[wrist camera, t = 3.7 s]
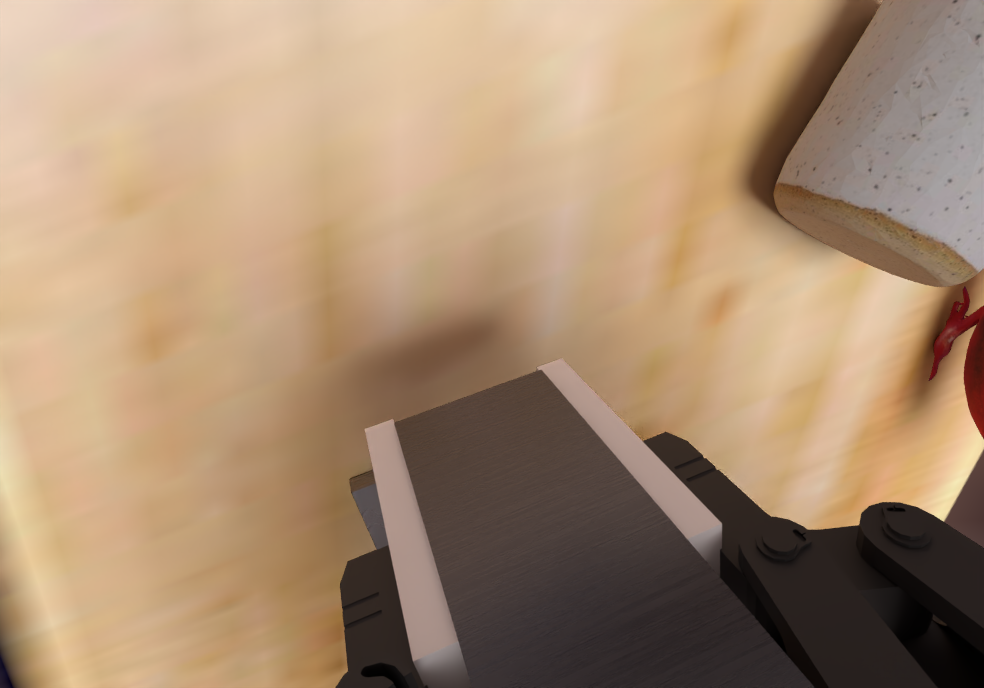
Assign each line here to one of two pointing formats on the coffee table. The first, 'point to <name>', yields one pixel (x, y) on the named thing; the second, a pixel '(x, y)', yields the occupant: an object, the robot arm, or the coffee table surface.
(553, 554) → the grey piece
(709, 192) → the coffee table surface
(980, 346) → the decorative bird figurine
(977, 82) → the ceramic mug
